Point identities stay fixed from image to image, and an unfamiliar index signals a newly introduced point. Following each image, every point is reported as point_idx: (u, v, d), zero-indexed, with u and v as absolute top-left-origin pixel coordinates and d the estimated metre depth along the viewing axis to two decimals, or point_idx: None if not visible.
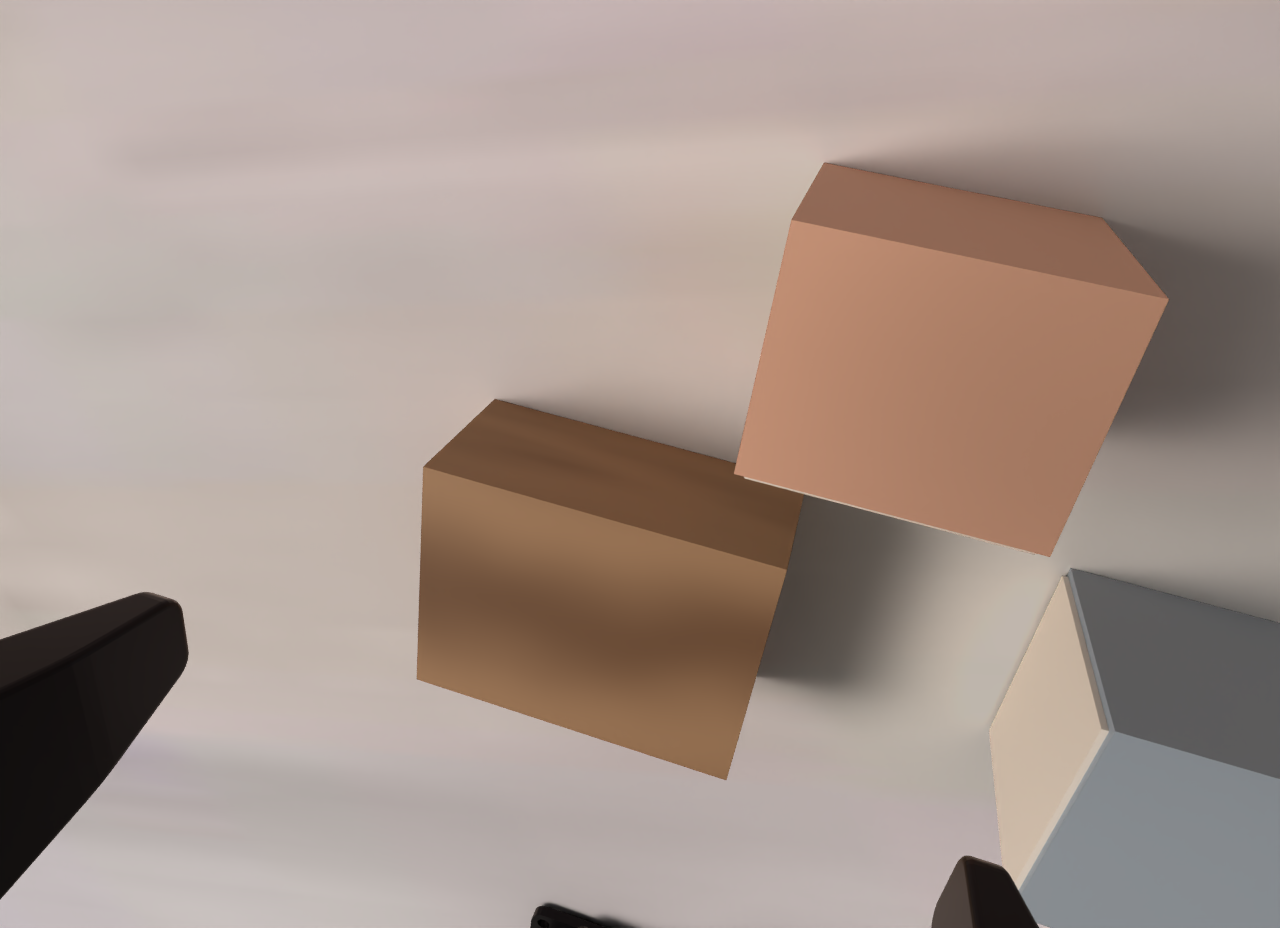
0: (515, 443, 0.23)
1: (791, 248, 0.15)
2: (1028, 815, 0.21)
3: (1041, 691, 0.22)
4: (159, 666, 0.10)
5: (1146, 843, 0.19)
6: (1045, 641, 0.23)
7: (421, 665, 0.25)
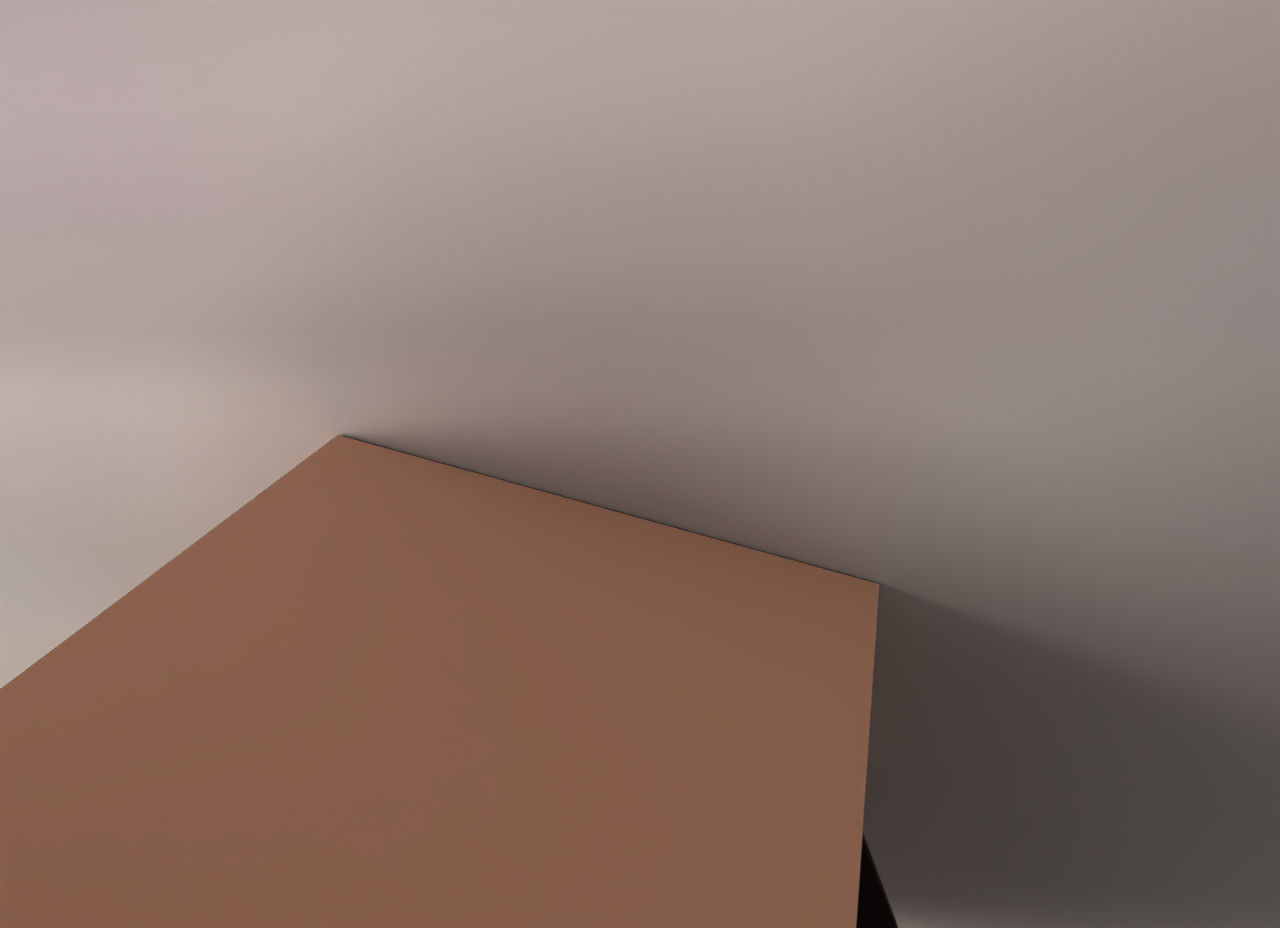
0: None
1: None
2: None
3: None
4: None
5: None
6: None
7: None
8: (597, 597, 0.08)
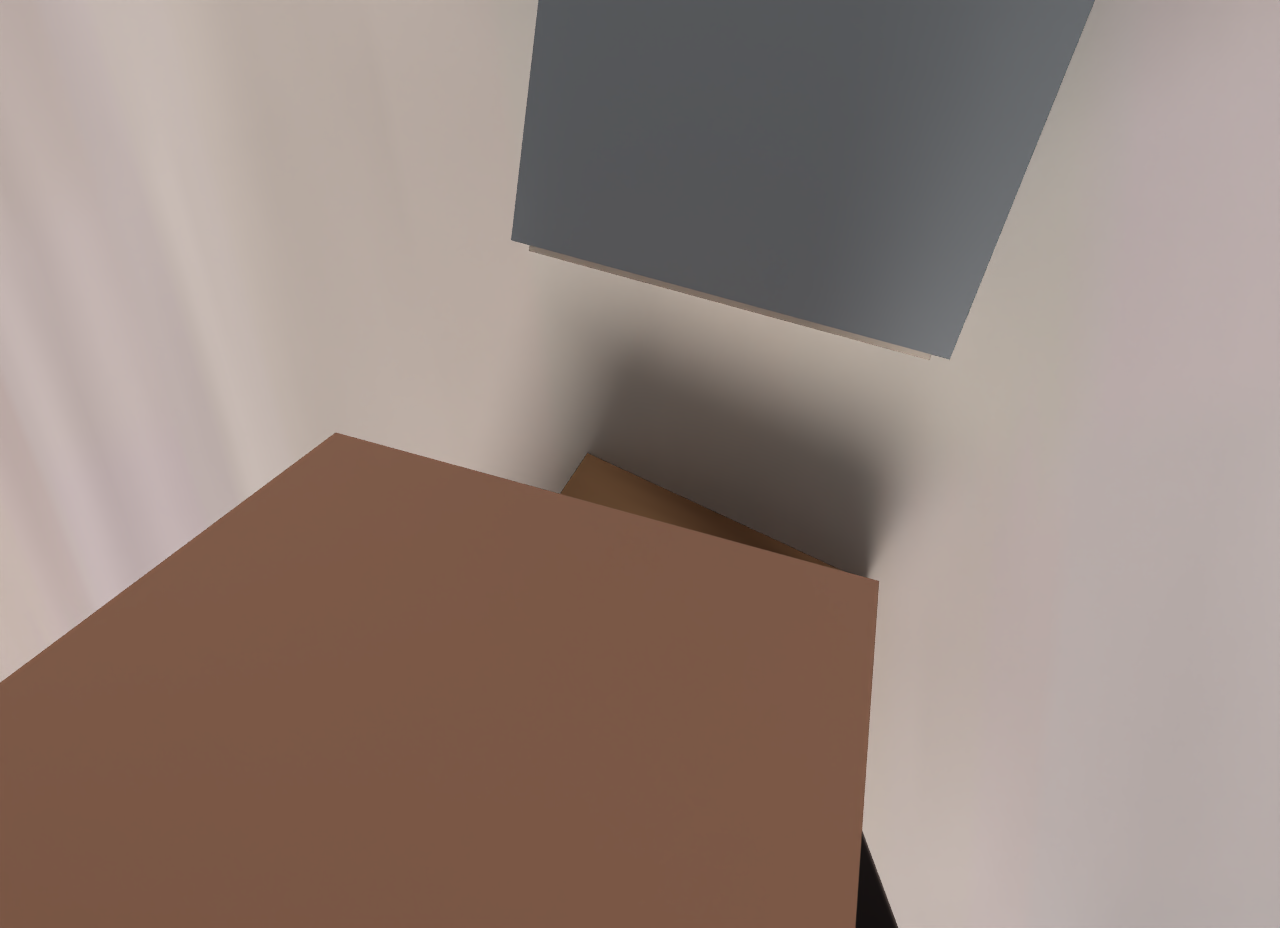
0: None
1: None
2: None
3: None
4: None
5: (725, 163, 0.11)
6: None
7: None
8: (596, 594, 0.08)
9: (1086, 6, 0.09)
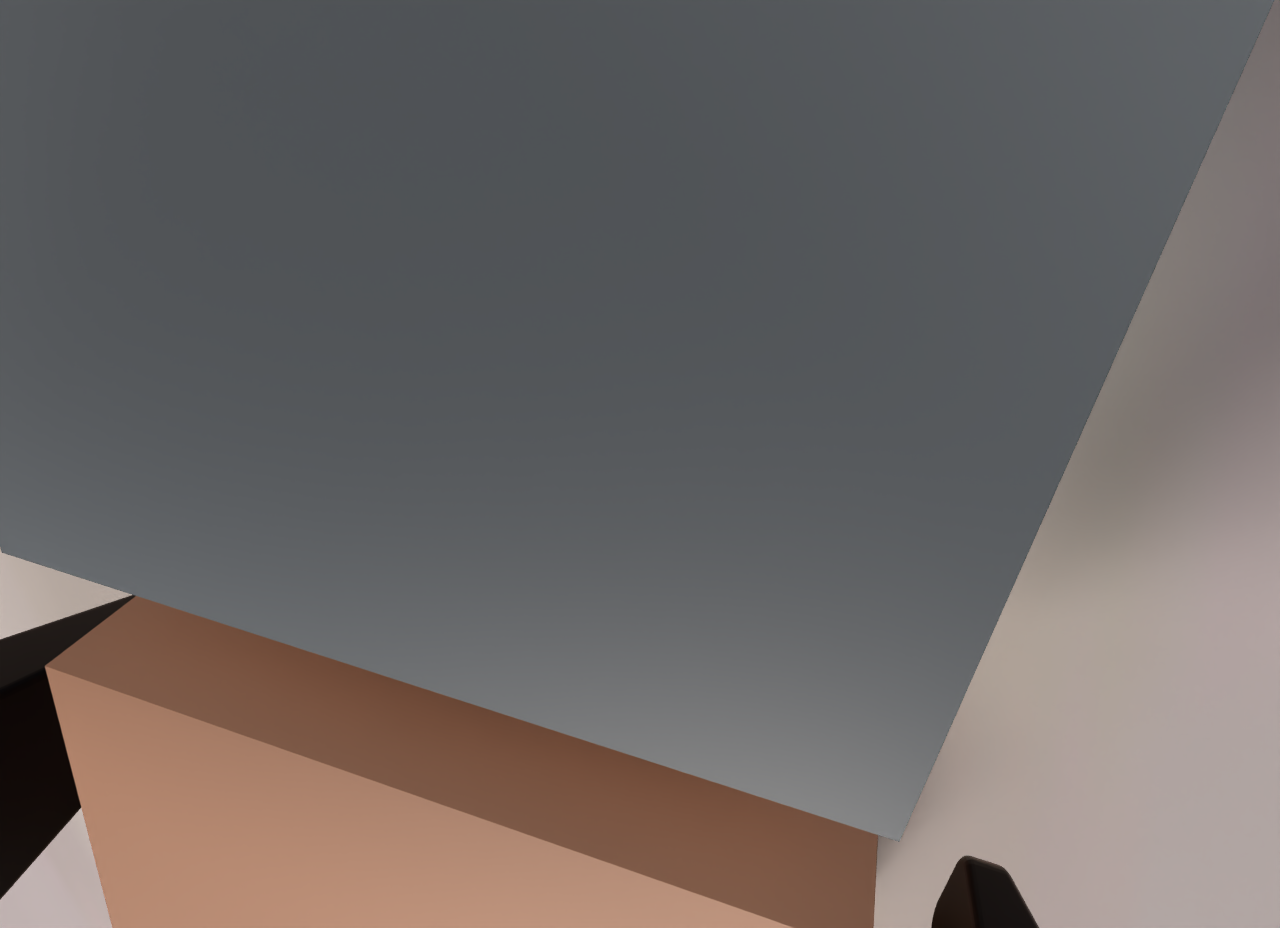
0: None
1: (70, 715, 0.07)
2: None
3: None
4: None
5: (348, 431, 0.05)
6: None
7: None
8: None
9: (1236, 41, 0.03)
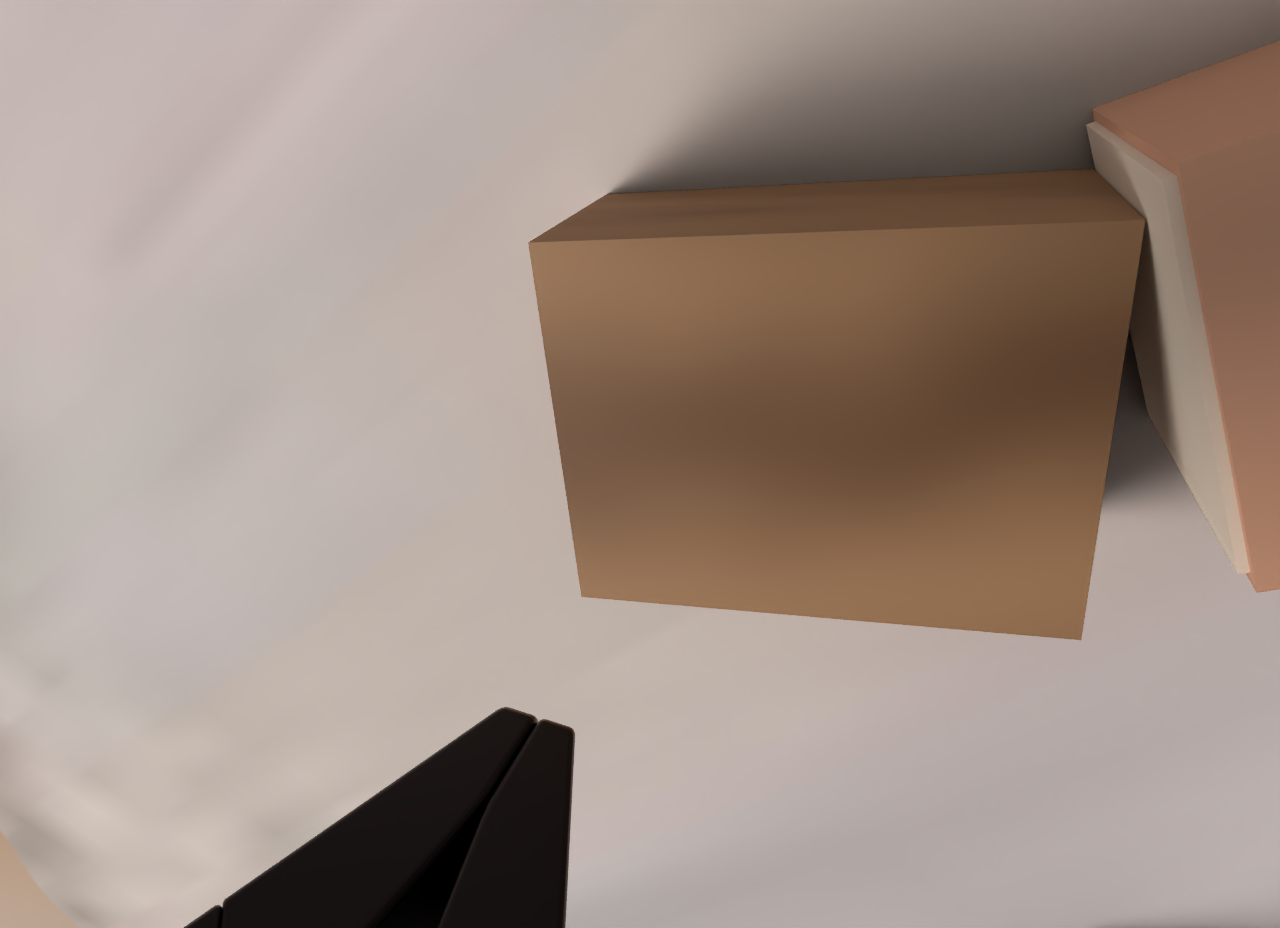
0: (651, 211, 0.16)
1: None
2: None
3: None
4: None
5: None
6: None
7: (583, 572, 0.17)
8: None
9: None
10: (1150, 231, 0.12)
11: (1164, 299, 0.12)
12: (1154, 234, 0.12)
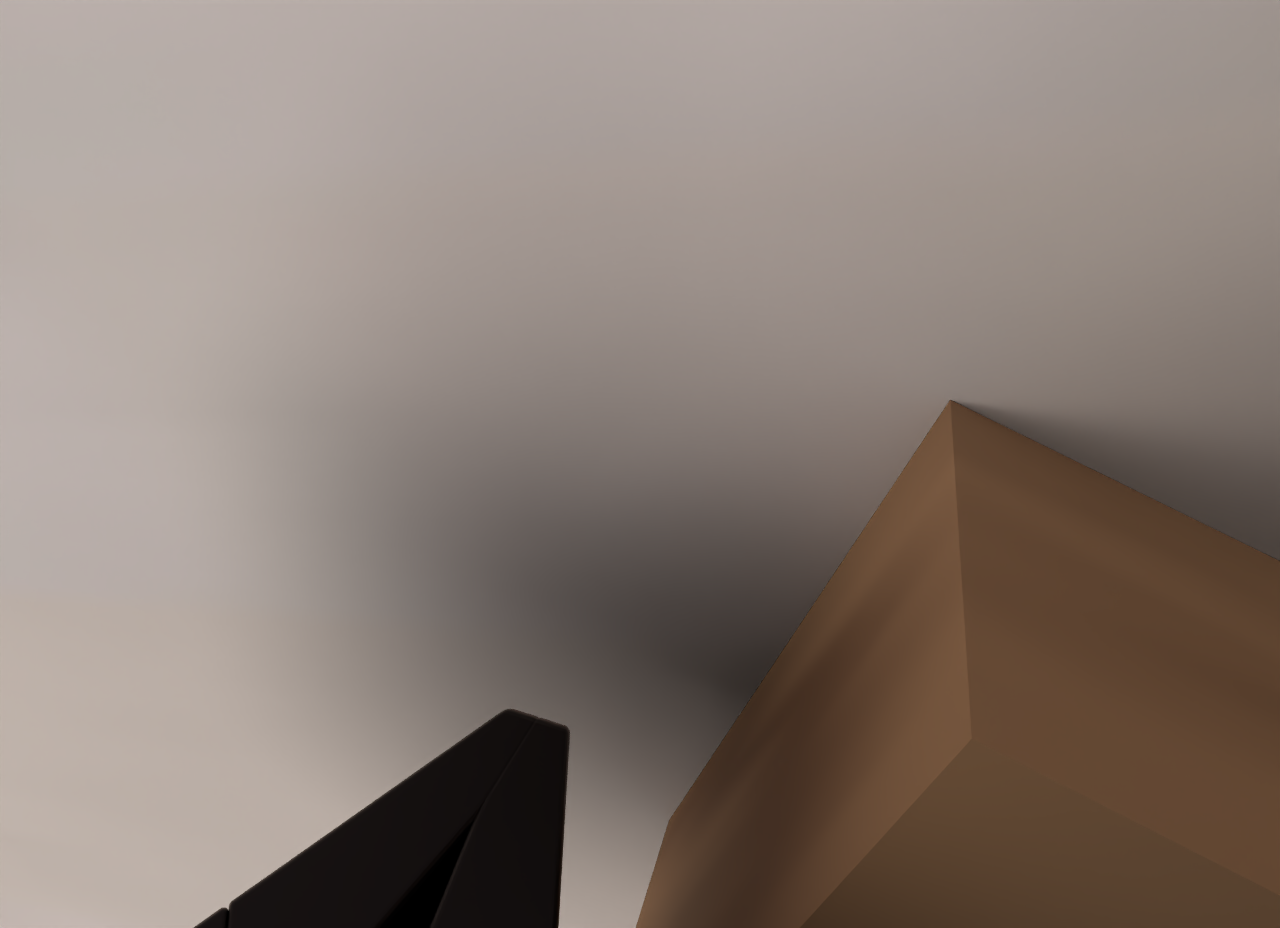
0: (1149, 615, 0.06)
1: None
2: None
3: None
4: None
5: None
6: None
7: None
8: None
9: None
10: None
11: None
12: None
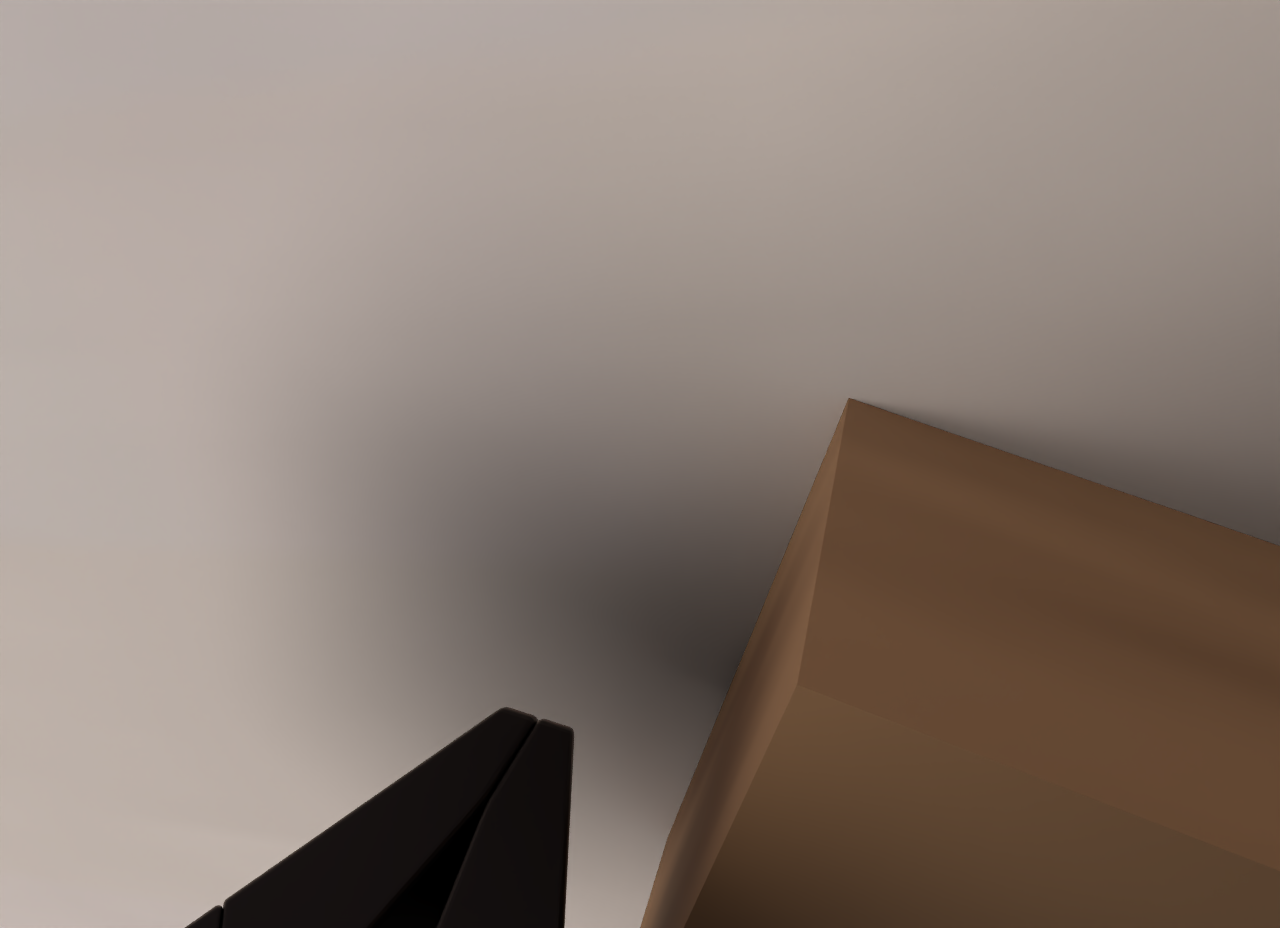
0: (1020, 564, 0.07)
1: None
2: None
3: None
4: None
5: None
6: None
7: None
8: None
9: None
10: None
11: None
12: None
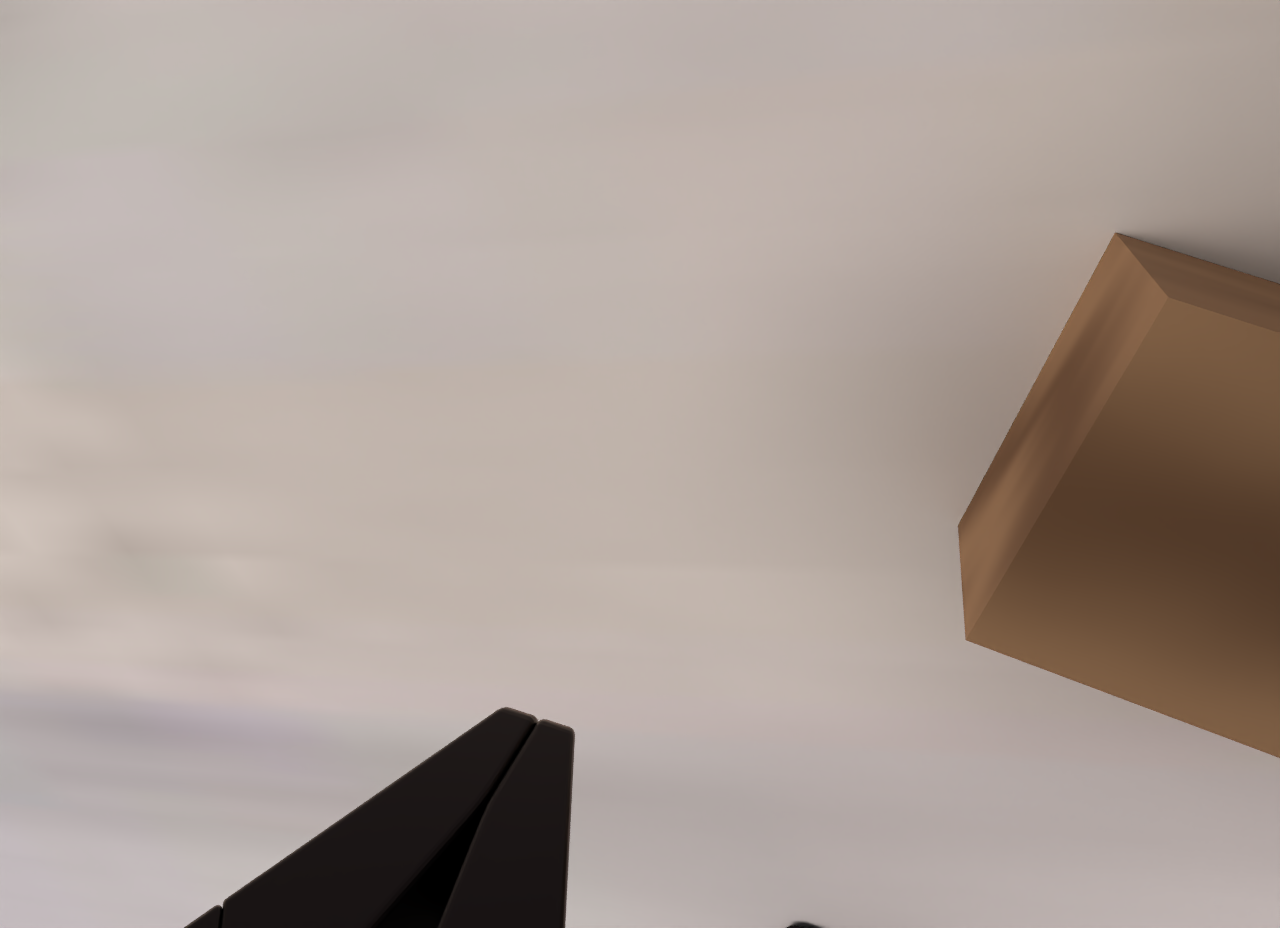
0: (1226, 287, 0.15)
1: None
2: None
3: None
4: None
5: None
6: None
7: (985, 619, 0.16)
8: None
9: None
10: None
11: None
12: None
